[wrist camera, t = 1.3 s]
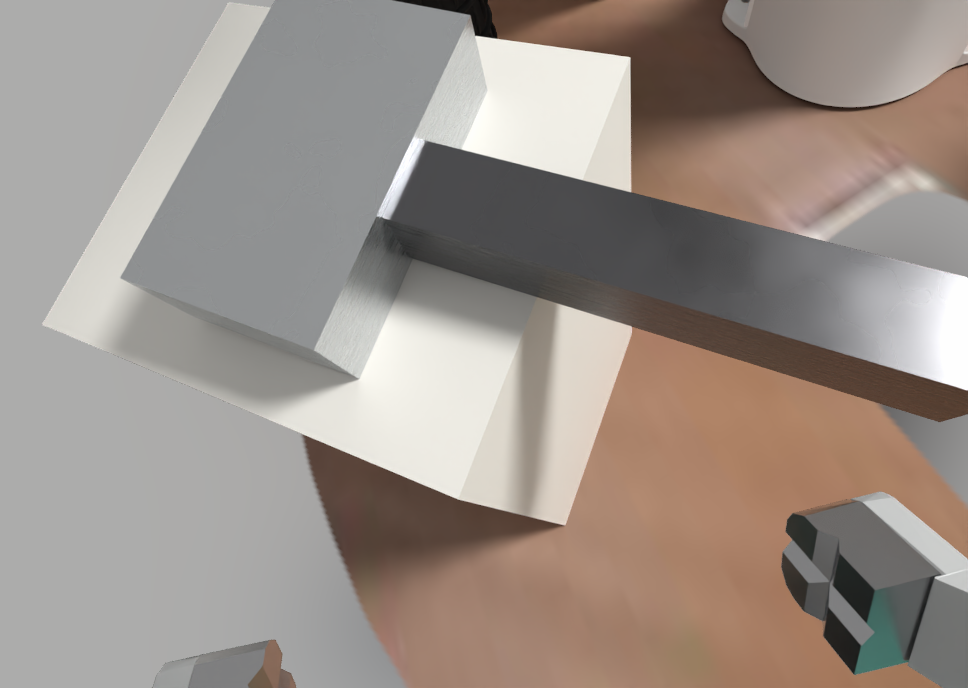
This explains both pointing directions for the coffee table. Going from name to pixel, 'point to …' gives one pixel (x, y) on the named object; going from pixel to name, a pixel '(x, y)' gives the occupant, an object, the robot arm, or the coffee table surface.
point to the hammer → (497, 224)
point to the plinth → (401, 301)
